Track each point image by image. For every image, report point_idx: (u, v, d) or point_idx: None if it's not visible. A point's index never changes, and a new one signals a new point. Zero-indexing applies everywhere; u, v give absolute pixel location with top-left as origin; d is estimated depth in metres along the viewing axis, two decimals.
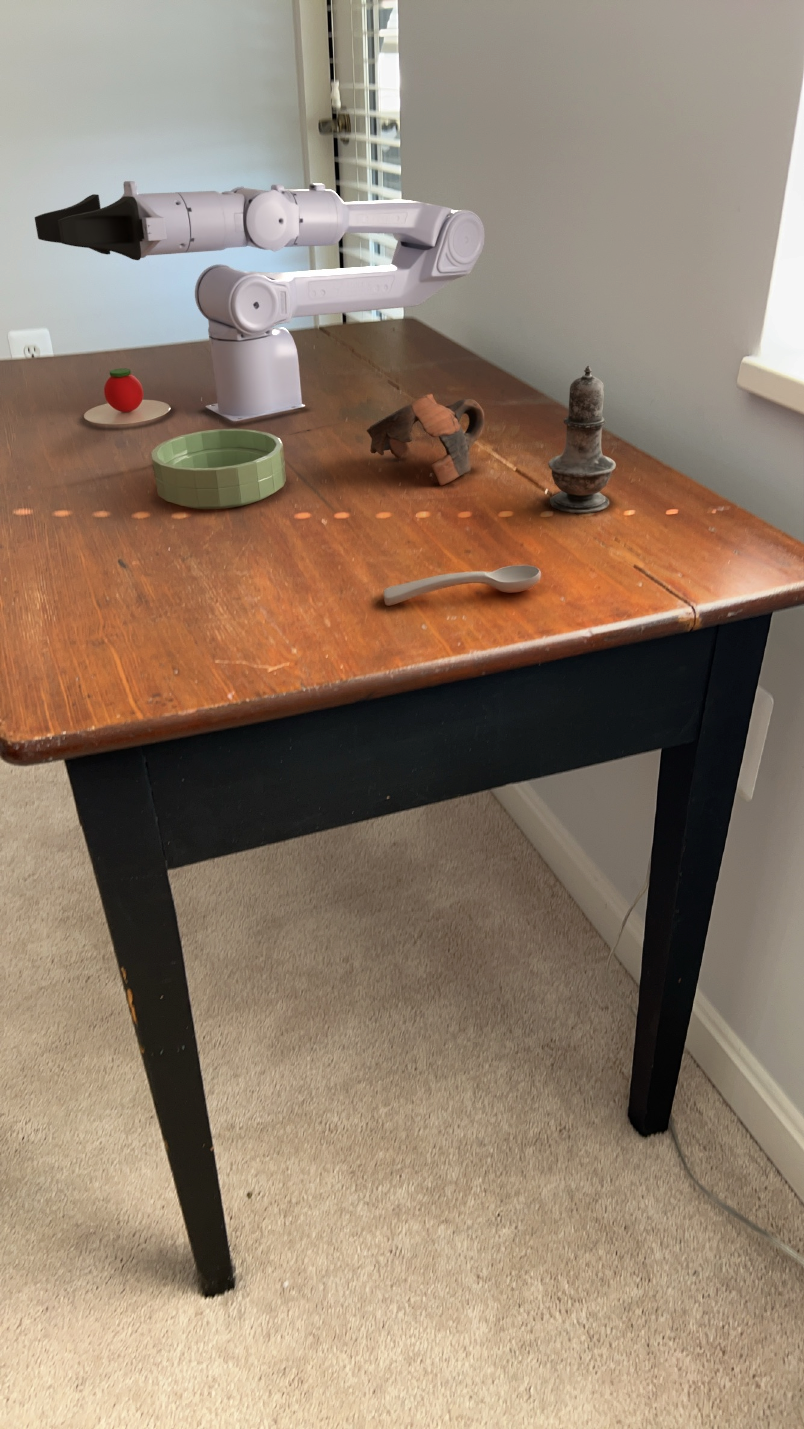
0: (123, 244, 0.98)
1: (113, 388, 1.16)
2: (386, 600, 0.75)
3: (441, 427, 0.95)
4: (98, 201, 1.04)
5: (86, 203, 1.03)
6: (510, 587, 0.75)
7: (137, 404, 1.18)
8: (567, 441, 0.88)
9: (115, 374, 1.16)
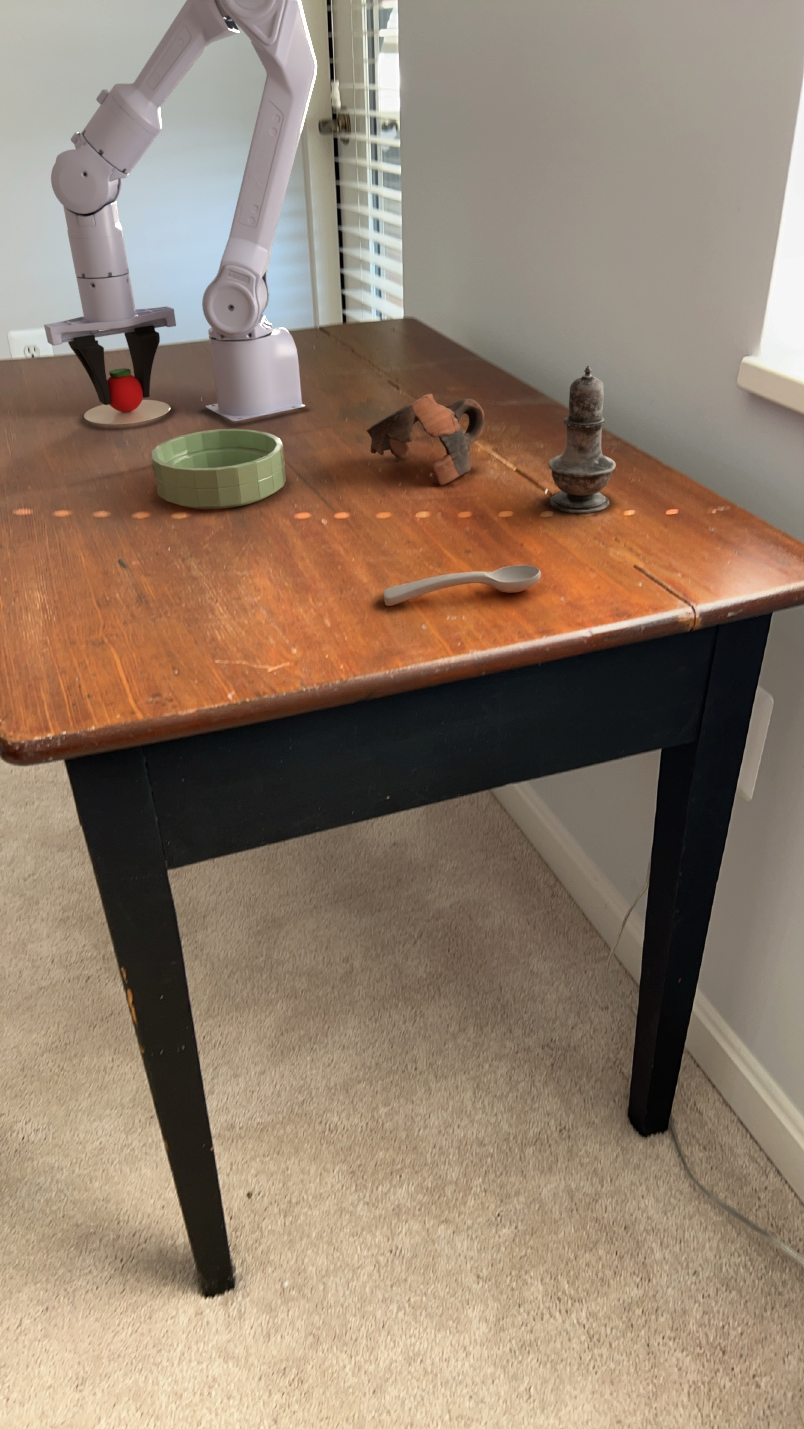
0: (85, 359, 1.13)
1: (113, 388, 1.16)
2: (386, 600, 0.74)
3: (441, 427, 0.95)
4: (126, 333, 1.17)
5: (128, 345, 1.18)
6: (510, 587, 0.75)
7: (137, 404, 1.18)
8: (567, 441, 0.88)
9: (115, 374, 1.16)
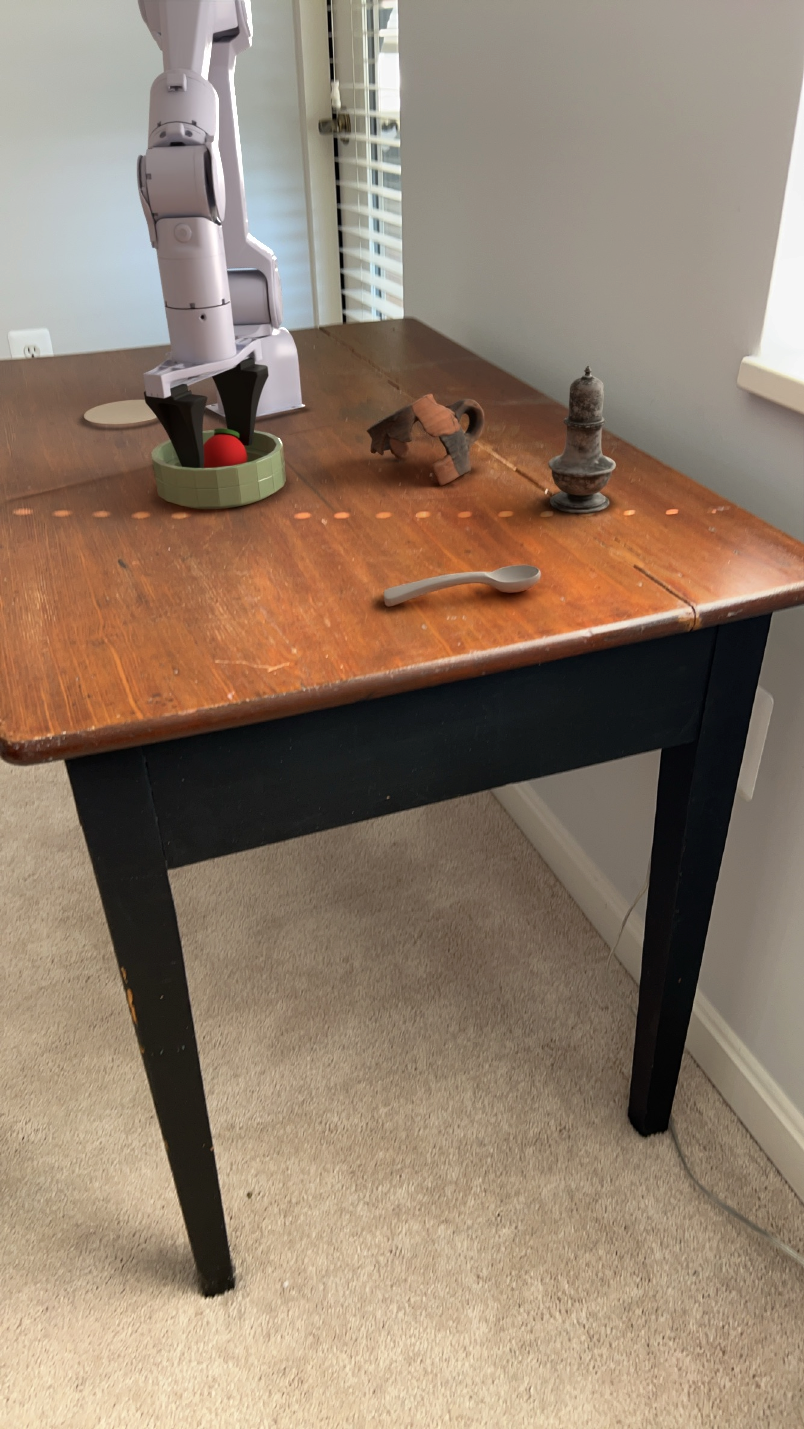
0: (183, 415, 0.88)
1: (226, 442, 0.95)
2: (386, 601, 0.74)
3: (441, 427, 0.95)
4: None
5: (217, 386, 0.96)
6: (510, 587, 0.75)
7: None
8: (567, 441, 0.88)
9: (228, 430, 0.96)
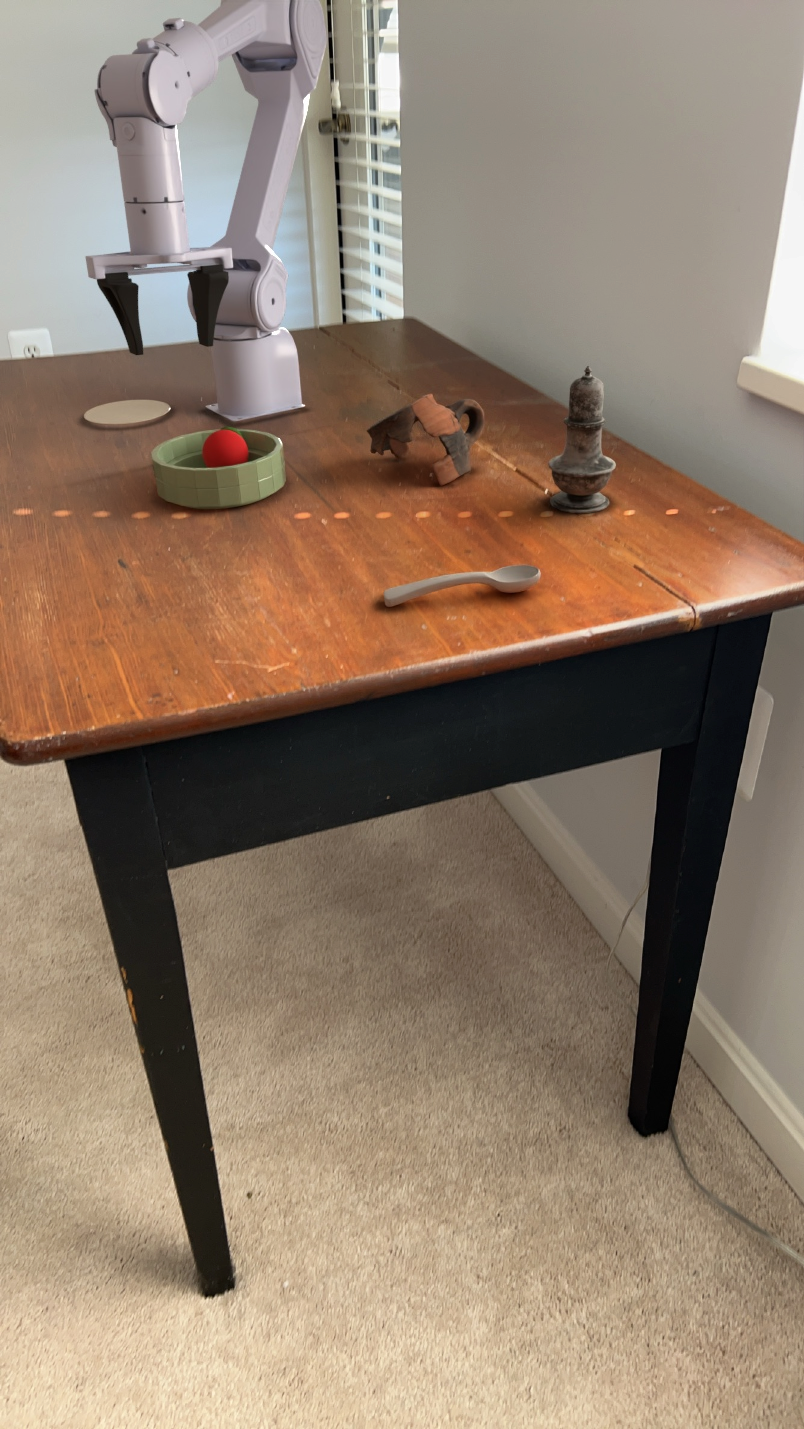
0: None
1: (228, 431, 0.97)
2: (387, 601, 0.74)
3: (441, 427, 0.95)
4: None
5: (137, 298, 0.98)
6: (510, 587, 0.75)
7: (241, 462, 0.97)
8: (567, 441, 0.88)
9: (231, 427, 0.98)
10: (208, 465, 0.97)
